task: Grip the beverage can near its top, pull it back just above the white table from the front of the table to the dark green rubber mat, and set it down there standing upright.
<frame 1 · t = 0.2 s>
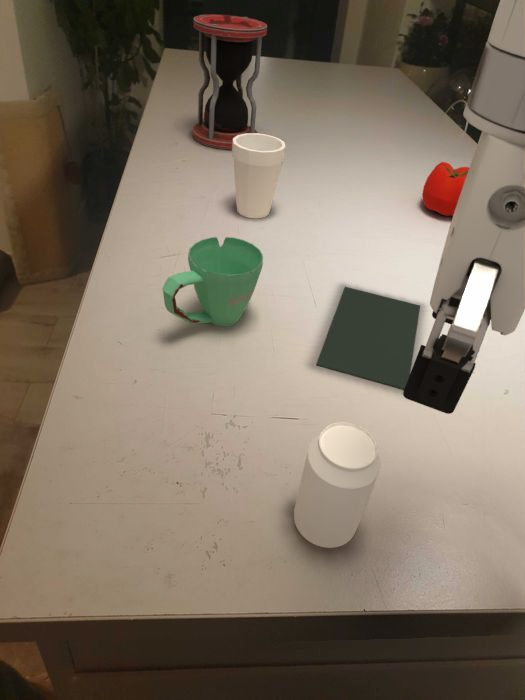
hand: (440, 359, 37), 22 cm above the table, tool pointing down, fingers open, 9 cm apart
beverage can: (323, 523, 51), on the table
mug: (209, 323, 74), on the table
hourglass: (225, 138, 130), on the table
tomato: (444, 211, 110), on the table
foam cup: (253, 211, 101), on the table
mat: (372, 333, 75), on the table
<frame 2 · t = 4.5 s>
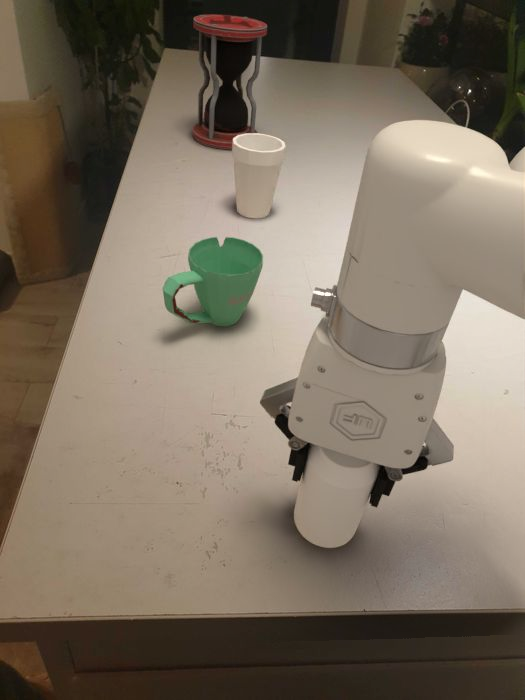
hand: (337, 479, 47), 7 cm above the table, tool pointing down, fingers closed on beverage can, 6 cm apart
beverage can: (323, 523, 51), on the table, touching gripper
everything else where it was.
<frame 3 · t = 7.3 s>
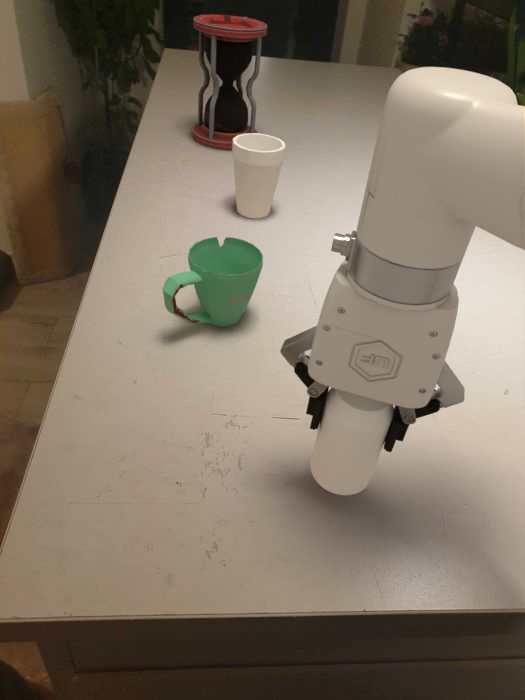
hand: (352, 428, 49), 9 cm above the table, tool pointing down, fingers closed on beverage can, 6 cm apart
beverage can: (338, 475, 54), point 2 cm above the table, touching gripper
everything else where it was.
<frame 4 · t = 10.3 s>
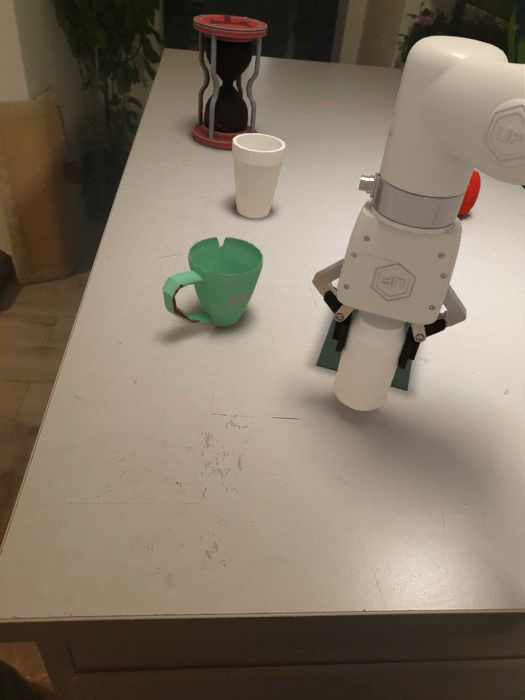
hand: (371, 351, 58), 9 cm above the table, tool pointing down, fingers closed on beverage can, 6 cm apart
beverage can: (357, 397, 63), point 2 cm above the table, touching gripper
everything else where it was.
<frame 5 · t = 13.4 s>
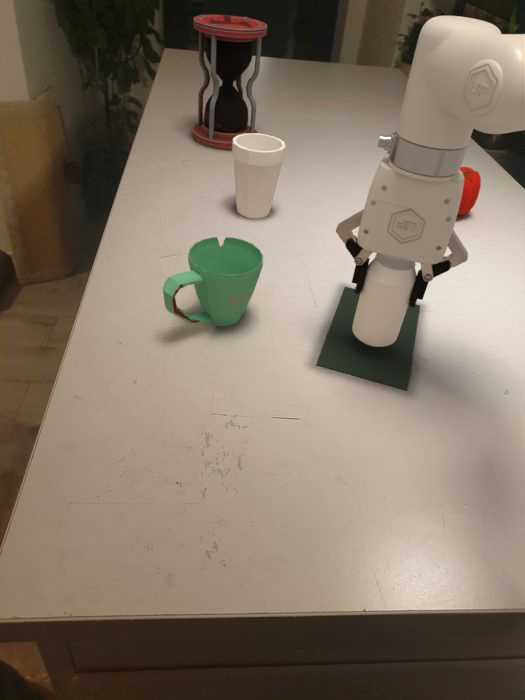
hand: (385, 293, 67), 9 cm above the table, tool pointing down, fingers closed on beverage can, 6 cm apart
beverage can: (372, 337, 72), point 2 cm above the table, touching gripper
everything else where it was.
when the fingers open (7 cm above the table, at t = 16.2 s): beverage can stays where it is, resting on mat.
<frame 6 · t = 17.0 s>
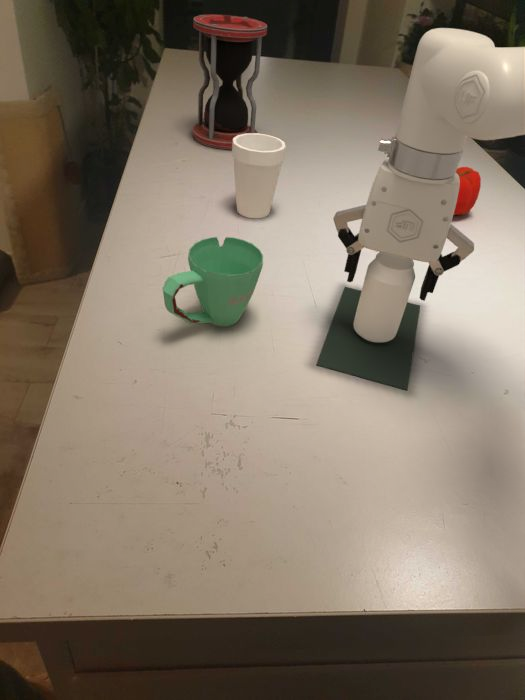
hand: (386, 285, 70), 8 cm above the table, tool pointing down, fingers open, 9 cm apart
beverage can: (373, 333, 75), resting on mat
everything else where it was.
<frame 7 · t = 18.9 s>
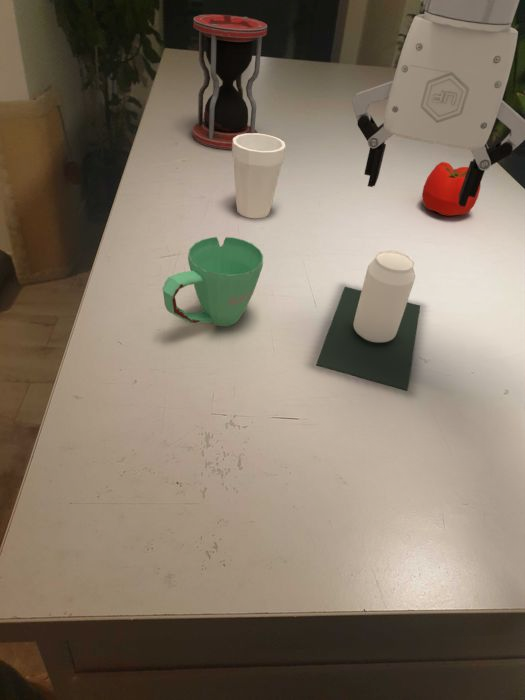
hand: (416, 191, 57), 23 cm above the table, tool pointing down, fingers open, 9 cm apart
nothing on the table moved.
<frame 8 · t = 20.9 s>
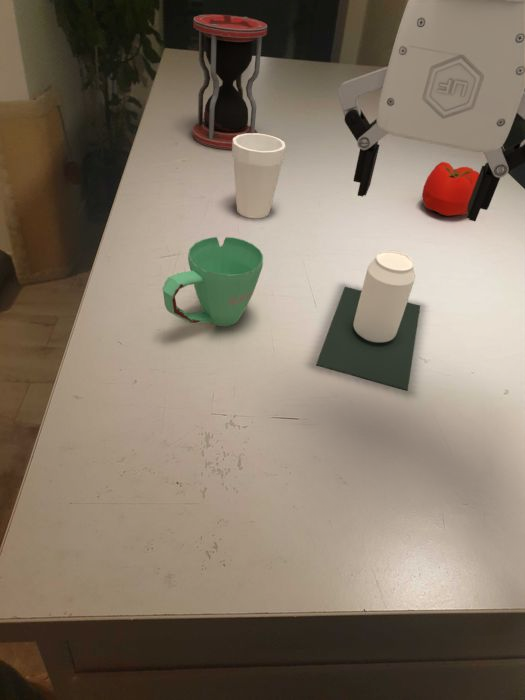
hand: (416, 202, 47), 26 cm above the table, tool pointing down, fingers open, 9 cm apart
nothing on the table moved.
at the end: beverage can inside the target area on the mat (0.1 cm from its centre), point 0.0 cm above the mat's base; beverage can tilted 0°; beverage can moved 32.1 cm from its start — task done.
